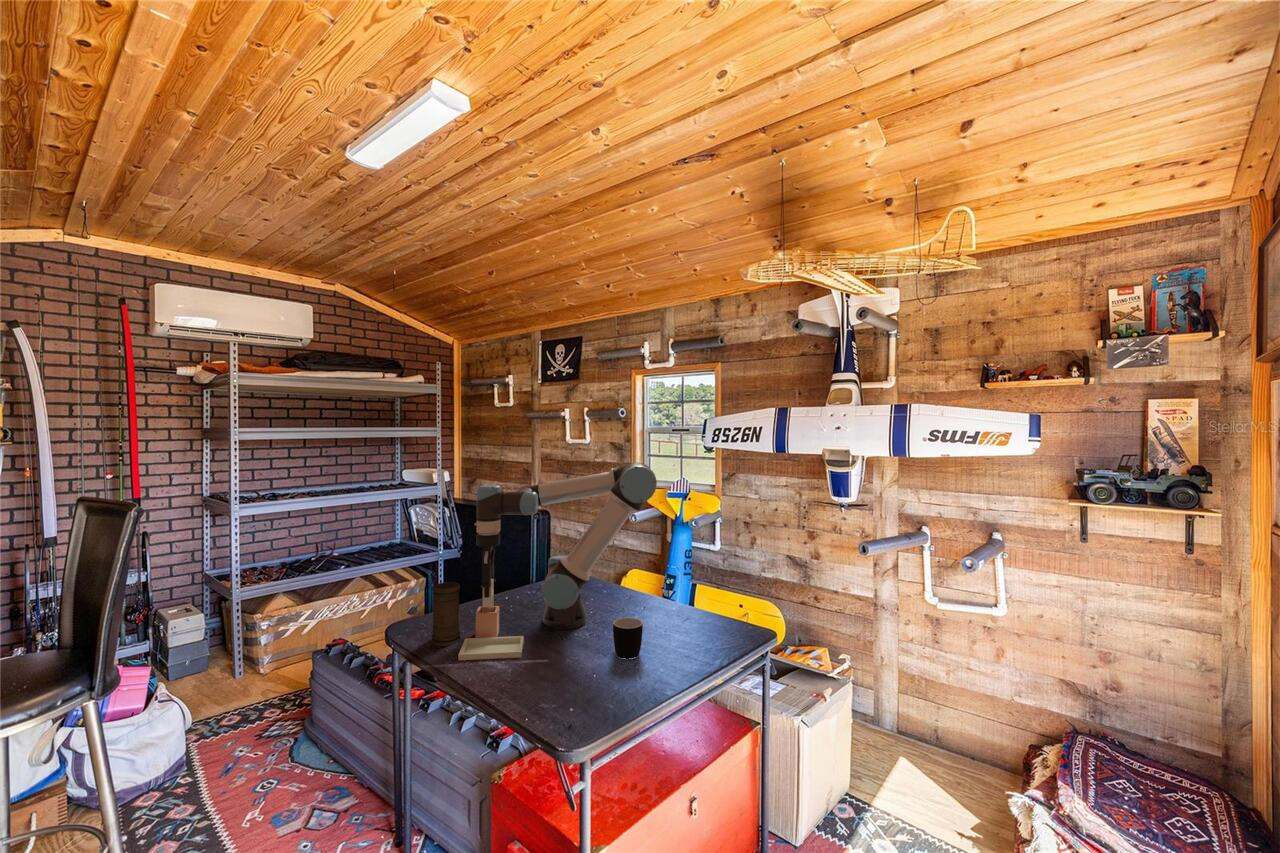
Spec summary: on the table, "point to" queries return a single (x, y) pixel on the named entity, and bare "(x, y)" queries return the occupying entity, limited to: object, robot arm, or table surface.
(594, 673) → the table surface
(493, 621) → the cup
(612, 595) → the table surface
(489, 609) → the dowel
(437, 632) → the container
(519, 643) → the tray
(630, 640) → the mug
